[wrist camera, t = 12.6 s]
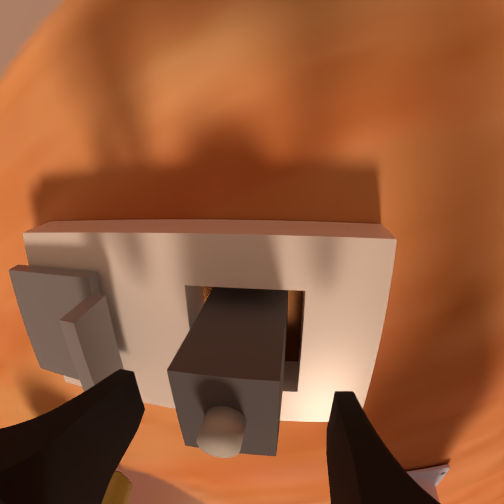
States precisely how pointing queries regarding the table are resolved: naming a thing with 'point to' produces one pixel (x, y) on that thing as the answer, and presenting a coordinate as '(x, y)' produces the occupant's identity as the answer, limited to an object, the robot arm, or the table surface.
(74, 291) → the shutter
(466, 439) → the table surface
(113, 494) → the plant pot
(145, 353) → the socket plate
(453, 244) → the table surface
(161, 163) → the table surface
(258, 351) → the plug
